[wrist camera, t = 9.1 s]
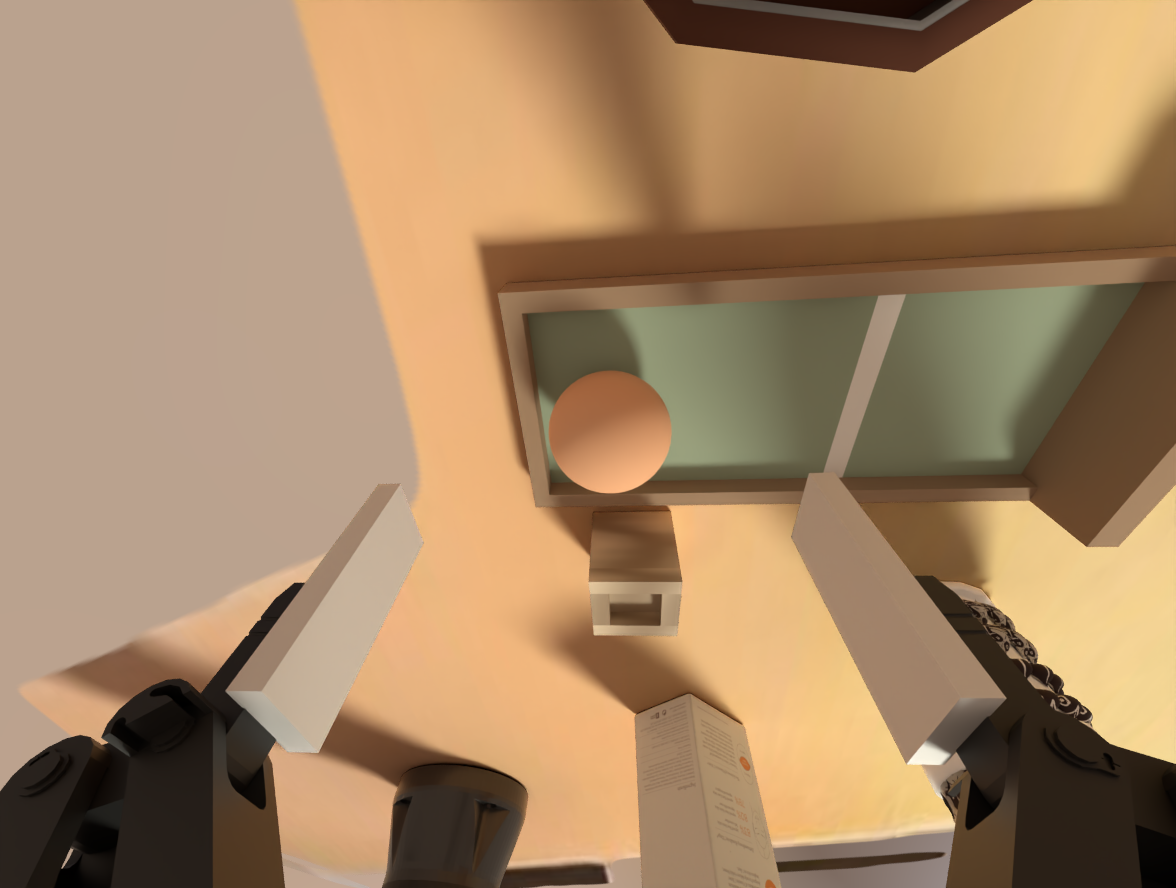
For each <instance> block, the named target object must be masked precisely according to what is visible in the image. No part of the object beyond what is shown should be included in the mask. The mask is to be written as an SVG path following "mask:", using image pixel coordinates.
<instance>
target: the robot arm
mask: <svg viewBox="0 0 1176 888" xmlns="http://www.w3.org/2000/svg"><path fill="white" fill-rule="evenodd" d="M791 537H792V539H793V541H794V543H795V545H796V547H797V549H798V551H799V553H800V555H801V557H802V559H803V561H804V563H805V565H806V567H807V569H808V571H809V573H810V575H811V577H812V579H813V581H814V583H815V585H816V587H817V589H818V591H819V593H820V595H821V597H822V599H823V601H824V603H825V605H826V606H827V608H828V610H829V612H830V614H831V616H832V618H833V620H834V622H835V624H836V626H837V628H838V630H839V632H840V634H841V636H842V638H843V640H844V642H845V644H846V646H847V648H848V650H849V652H850V654H851V656H852V658H853V660H854V662H855V664H856V666H857V668H858V670H859V672H860V674H861V676H862V678H863V680H864V682H865V683H866V685H867V687H868V689H869V691H870V693H871V695H872V697H873V699H874V701H875V703H876V705H877V707H878V709H879V711H880V713H881V715H882V717H883V719H884V721H885V723H886V725H887V727H888V729H889V731H890V733H891V735H892V737H893V739H894V741H895V743H896V745H897V747H898V749H899V751H900V753H901V755H902V757H903V758H904V760H905V762H906V764H920V765H945V764H946V763H947V762H948V761H949V760H950V758H951V757H952V756H953V755H954V754H955V753H956V752H957V754H958V756H959V757H960V759H961V761H962V762H963V764H964V766H965V767H966V769H967V771H966V772H965V773H964V774H963V775H962V776H961V777H960V778H959V779H957V780H956V781H955V782H954V783H953V784H952V786H951V788H950V789H949V791H948V793H947V794H949V795H950V796H952V797H953V798H954V797H955V796H956V795H958V794H959V793H960V798H959V805H958V811H957V818H956V824H955V831H954V838H953V844H952V851H951V858H950V864H949V870H948V877H947V884H946V888H1176V764H1174V763H1170V762H1167V761H1164V760H1160V759H1157V758H1154V757H1150V756H1147V755H1144V754H1140V753H1137V752H1134V751H1130V750H1127V749H1124V748H1120V747H1117V746H1114V745H1112V744H1109V743H1108V742H1107V741H1106V740H1105V739H1103V738H1102V737H1101V736H1100V735H1099V734H1098V733H1096V732H1095V731H1094V730H1093V729H1092V728H1090V727H1088V726H1087V725H1085V724H1083V723H1082V722H1080V721H1079V720H1077V719H1075V718H1074V717H1072V716H1069V715H1067V714H1064V713H1061V712H1059V711H1056V710H1054V709H1053V708H1052V707H1051V706H1050V705H1049V704H1048V703H1047V702H1046V701H1045V700H1044V699H1043V697H1042V696H1041V695H1040V694H1039V693H1038V691H1037V690H1036V689H1035V688H1034V687H1033V685H1032V684H1031V683H1030V682H1029V681H1028V679H1027V678H1026V677H1025V676H1024V675H1023V673H1022V672H1021V671H1020V670H1019V669H1018V667H1017V666H1016V665H1015V664H1014V663H1013V661H1012V660H1011V659H1010V658H1009V657H1008V655H1007V654H1006V653H1005V652H1004V651H1003V649H1002V648H1001V647H1000V646H999V645H998V643H997V642H996V641H995V640H994V639H993V637H992V636H991V635H988V634H987V632H986V631H987V630H986V629H985V628H984V626H983V625H982V624H981V623H980V622H979V620H978V619H977V618H974V617H973V615H972V614H973V613H972V612H971V611H970V610H969V608H968V607H967V606H966V605H965V604H964V602H963V601H962V600H961V599H960V598H959V596H958V595H957V594H956V593H955V592H954V591H952V590H951V589H950V588H948V587H947V586H946V585H944V584H943V583H942V582H940V581H939V580H937V579H936V578H935V577H933V576H913V575H912V573H911V572H910V571H909V570H908V568H907V567H906V566H905V564H904V563H903V562H902V560H901V559H900V558H899V556H898V555H897V554H896V552H895V551H894V550H893V549H892V547H891V546H890V545H889V543H888V542H887V541H886V539H885V538H884V537H883V535H882V534H881V533H880V531H879V530H878V529H877V528H876V526H875V525H874V524H873V522H872V521H871V520H870V518H869V517H868V516H867V514H866V513H865V512H864V510H863V509H862V508H861V507H860V505H859V504H858V503H857V501H856V500H855V499H854V497H853V496H852V495H851V493H850V492H849V491H848V489H847V488H846V487H845V486H844V484H843V483H842V482H841V480H840V479H839V478H838V476H837V475H836V474H835V472H831V473H809V475H808V478H807V482H806V486H805V489H804V493H803V496H802V500H801V504H800V507H799V511H798V514H797V518H796V522H795V525H794V529H793V532H792V536H791ZM423 543H424V542H423V540H422V537H421V535H420V532H419V529H418V527H417V524H416V522H415V519H414V517H413V514H412V511H411V509H410V506H409V504H408V501H407V498H406V496H405V493H404V491H403V488H402V486H401V484H378V486H377V487H376V488H375V490H374V491H373V492H372V494H371V495H370V497H369V498H368V499H367V501H366V502H365V503H364V505H363V506H362V507H361V509H360V510H359V511H358V513H357V514H356V516H355V517H354V518H353V520H352V521H351V522H350V524H349V525H348V526H347V528H346V529H345V530H344V532H343V533H342V534H341V536H340V537H339V538H338V540H337V541H336V542H335V544H334V545H333V547H332V548H331V549H330V550H329V552H328V553H327V554H326V556H325V557H324V559H323V560H322V561H321V563H320V564H319V565H318V567H317V568H316V569H315V571H314V572H313V573H312V575H311V576H310V577H309V579H308V580H307V581H306V583H294V584H293V585H292V586H290V587H289V588H288V589H287V590H285V591H284V592H283V593H282V594H280V595H279V596H278V597H277V598H276V599H275V600H274V601H273V602H272V604H271V605H270V606H269V607H268V609H267V610H266V611H265V612H264V614H263V615H262V616H261V620H260V621H257V623H256V624H255V625H254V626H253V628H252V629H251V630H250V632H249V635H248V636H246V637H245V638H244V639H243V640H242V642H241V643H240V644H239V646H238V647H237V648H236V649H235V651H234V652H233V653H232V654H231V656H230V657H229V658H228V660H227V661H226V662H225V663H224V665H223V666H222V667H221V668H220V670H219V671H218V672H217V674H216V675H215V676H214V677H213V679H212V680H211V681H210V683H209V684H208V685H207V686H206V688H205V689H204V690H203V691H202V693H201V694H200V693H199V692H198V691H197V690H196V689H195V688H194V687H193V686H192V685H191V684H190V683H188V682H187V681H184V680H182V679H171V680H165V681H163V682H160V683H158V684H155V685H153V686H151V687H149V688H147V689H146V690H144V691H142V692H141V693H139V694H138V695H136V696H134V697H133V698H132V699H131V700H130V701H129V702H127V703H126V704H125V705H124V706H123V707H122V708H120V709H119V710H118V712H117V713H116V714H115V715H114V717H113V718H112V719H111V720H110V721H109V723H108V724H107V726H106V728H105V730H104V733H103V735H102V737H101V738H102V739H104V740H105V741H107V742H108V743H107V744H104V745H101V744H100V743H98V742H97V741H95V740H94V739H92V738H91V737H87V736H82V735H79V736H75V737H70V738H67V739H64V740H62V741H60V742H58V743H56V744H54V745H52V746H50V747H48V748H46V749H45V750H43V751H42V752H41V753H39V754H38V755H36V756H35V757H33V758H32V759H30V760H29V761H28V762H27V763H26V764H25V765H24V766H23V767H22V768H20V769H19V770H18V771H17V772H16V773H15V774H14V775H13V776H12V777H11V778H10V780H9V781H8V782H7V783H6V785H5V786H4V787H3V789H2V790H1V791H0V888H285V884H284V874H283V864H282V855H281V845H280V835H279V826H278V816H277V806H276V797H275V787H274V777H273V768H272V763H271V760H270V758H269V756H268V753H269V752H270V750H271V748H272V747H273V745H274V743H275V741H277V742H278V743H279V744H280V745H281V746H282V747H283V748H284V749H285V750H286V751H287V752H310V753H319V751H320V749H321V747H322V745H323V743H324V741H325V739H326V737H327V735H328V733H329V731H330V729H331V727H332V725H333V723H334V721H335V719H336V717H337V715H338V713H339V711H340V709H341V707H342V705H343V703H344V701H345V699H346V697H347V695H348V693H349V691H350V689H351V687H352V685H353V683H354V681H355V679H356V677H357V675H358V673H359V671H360V669H361V667H362V665H363V663H364V661H365V659H366V657H367V655H368V653H369V651H370V649H371V647H372V645H373V643H374V641H375V639H376V637H377V635H378V633H379V631H380V629H381V627H382V625H383V623H384V621H385V619H386V617H387V615H388V613H389V611H390V609H391V607H392V605H393V603H394V601H395V599H396V597H397V595H398V593H399V591H400V589H401V587H402V585H403V583H404V581H405V579H406V577H407V575H408V573H409V571H410V569H411V567H412V565H413V563H414V561H415V559H416V557H417V555H418V553H419V551H420V549H421V547H422V545H423ZM527 801H528V794H527V791H526V790H525V789H524V788H523V787H522V786H521V785H520V784H519V783H517V782H515V781H514V780H512V779H510V778H508V777H505V776H503V775H500V774H497V773H494V772H491V771H487V770H483V769H479V768H474V767H467V766H459V765H429V766H422V767H418V768H414V769H411V770H409V771H407V772H406V773H404V774H403V775H402V777H401V779H400V782H399V785H398V788H397V791H396V794H395V797H394V801H393V808H392V819H391V830H390V842H389V853H388V864H387V871H386V877H385V879H384V883H383V886H382V888H499V886H500V883H501V881H502V878H503V875H504V873H505V870H506V868H507V865H508V862H509V860H510V857H511V855H512V852H513V850H514V847H515V844H516V842H517V839H518V837H519V834H520V831H521V829H522V826H523V824H524V820H525V816H526V808H527ZM70 848H72V849H73V852H72V854H71V856H70V858H69V860H68V861H67V863H66V864H65V866H64V867H63V869H61V867H62V865H63V863H64V861H65V859H66V857H67V854H68V852H69V850H70Z"/></svg>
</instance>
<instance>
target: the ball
mask: <svg viewBox="0 0 1176 888" xmlns="http://www.w3.org/2000/svg"><path fill="white" fill-rule="evenodd" d="M671 435H672V430H671V421H670V416H669V413H668V410H667V408H666V405H665V403H664V402H663V400H662V398H661V397H660V395H659V394H658V393H657V392H656V390H655V389H654V388H653V387H652V386H651V385H649V384H648V383H647V382H645V381H644V380H642V379H640V378H638V377H637V376H634V375H632V374H629V373H626V372H622V371H599V372H595V373H591V374H588V375H586V376H584V377H582V378H580V379H578V380H577V381H575V382H574V383H572V384H571V385H570V386H569V387H568V388H567V389H566V390H565V391H564V392H563V393H562V394H561V396H560V397H559V399H558V400H557V402H556V404H555V406H554V408H553V411H552V413H551V417H550V421H549V442H550V447H551V451H552V453H553V456H554V458H555V460H556V462H557V464H558V466H559V467H560V468H561V470H562V471H563V472H564V473H565V474H566V475H567V476H568V477H569V478H570V479H571V480H572V481H574V482H575V483H577V484H578V485H580V486H582V487H584V488H586V489H588V490H591V491H595V492H599V493H620V492H625V491H629V490H632V489H634V488H636V487H638V486H640V485H642V484H643V483H645V482H646V481H648V480H649V479H650V478H651V477H652V476H653V475H654V474H655V473H656V472H657V471H658V470H659V468H660V467H661V465H662V464H663V462H664V461H665V458H666V456H667V454H668V451H669V447H670V443H671Z"/></svg>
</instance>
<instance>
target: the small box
mask: <svg viewBox="0 0 1176 888" xmlns="http://www.w3.org/2000/svg"><path fill="white" fill-rule="evenodd" d="M635 738H636V759H637V784H638V806H639V830H640V852H641V873H642V888H781V883H780V879H779V874H778V870H777V866H776V861H775V857H774V853H773V848H772V844H771V840H770V835H769V831H768V827H767V822H766V818H765V814H764V809H763V805H762V801H761V796H760V792H759V788H758V783H757V779H756V775H755V770H754V766H753V762H752V757H751V753H750V748H749V744H748V739H747V735H746V730H745V727H744V726H743V725H741V724H739V723H738V722H736V721H734V720H733V719H731V718H729V717H728V716H726V715H724V714H723V713H721V712H719V711H718V710H716V709H715V708H713V707H711V706H710V705H708V704H706V703H705V702H703V701H701V700H700V699H698V698H696V697H695V696H693V695H692V694H686V695H684V696H681V697H678V698H676V699H673V700H670V701H668V702H666V703H663V704H661V705H658V706H655V707H653V708H651V709H648V710H646V711H644V712H641V713H639V714H637V715H635Z"/></svg>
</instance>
